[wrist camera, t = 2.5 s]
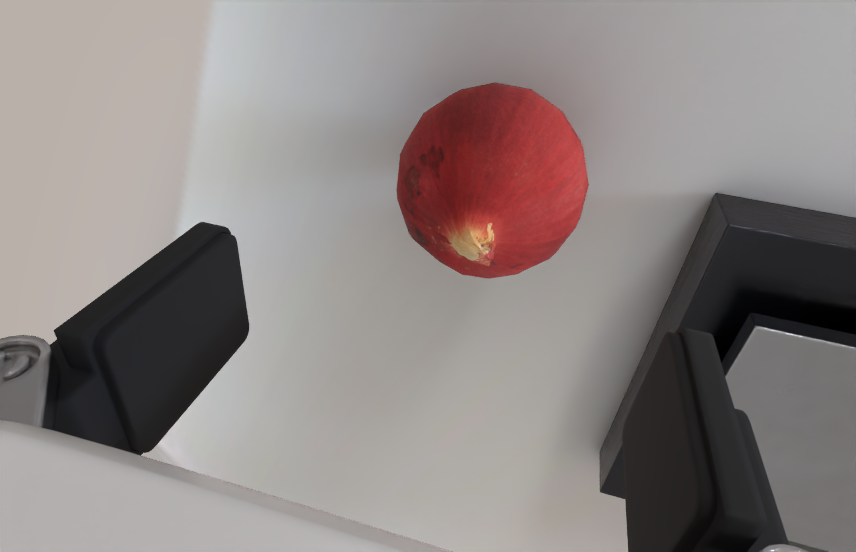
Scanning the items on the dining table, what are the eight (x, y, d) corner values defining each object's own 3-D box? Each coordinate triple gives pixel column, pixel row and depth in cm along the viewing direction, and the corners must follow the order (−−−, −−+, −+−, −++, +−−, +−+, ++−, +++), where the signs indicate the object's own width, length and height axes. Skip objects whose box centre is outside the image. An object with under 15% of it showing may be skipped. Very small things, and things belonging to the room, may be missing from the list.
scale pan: (750, 311, 17) (756, 326, 16) (1112, 388, 15) (1134, 408, 15) (649, 486, 23) (651, 502, 22) (903, 555, 21) (913, 575, 21)
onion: (453, 221, 22) (393, 348, 15) (411, 83, 19) (316, 167, 13) (599, 199, 20) (599, 335, 13) (575, 38, 17) (559, 114, 10)
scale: (715, 192, 18) (731, 230, 16) (1157, 271, 16) (1246, 328, 14) (599, 451, 27) (599, 499, 25) (875, 525, 25) (902, 585, 23)
